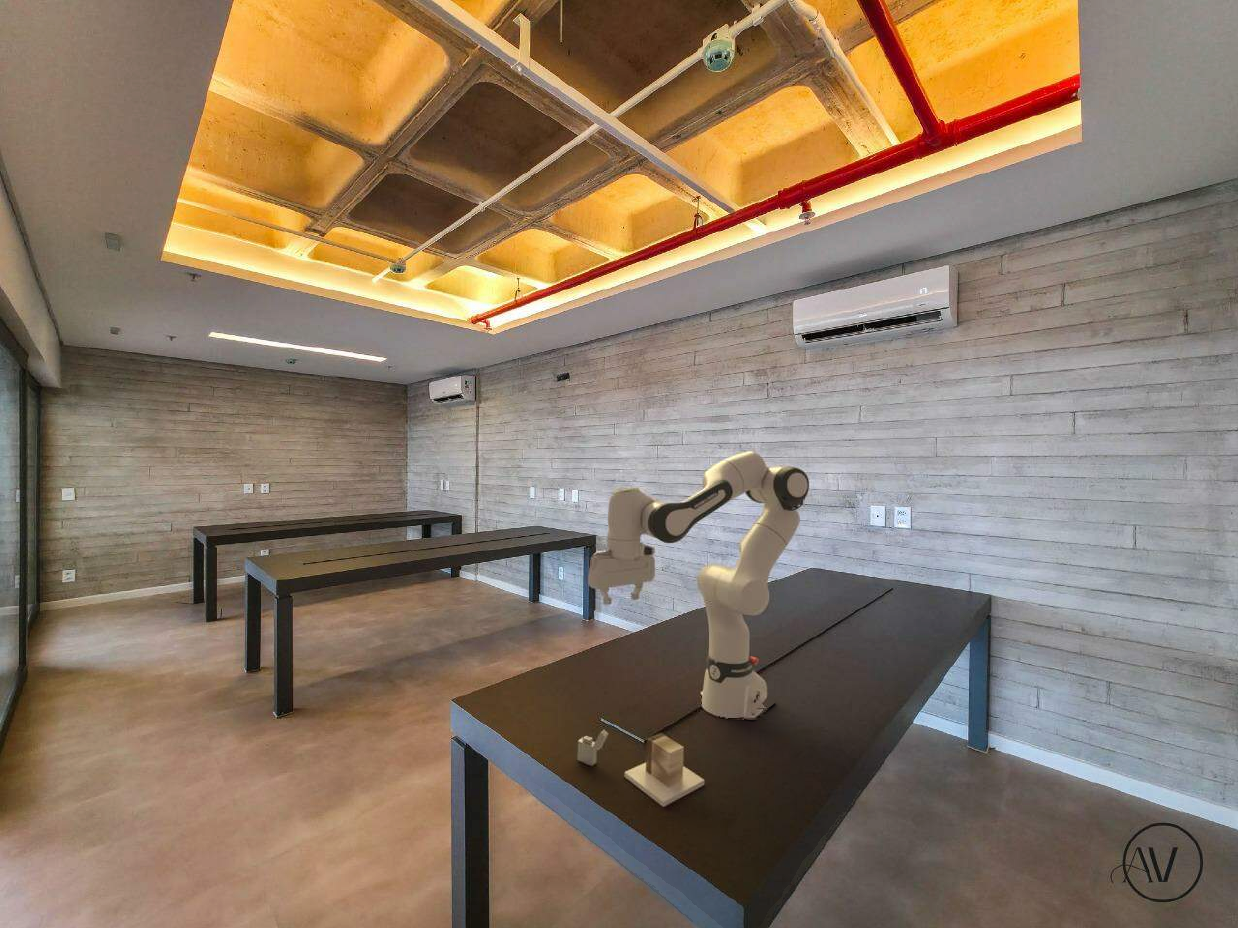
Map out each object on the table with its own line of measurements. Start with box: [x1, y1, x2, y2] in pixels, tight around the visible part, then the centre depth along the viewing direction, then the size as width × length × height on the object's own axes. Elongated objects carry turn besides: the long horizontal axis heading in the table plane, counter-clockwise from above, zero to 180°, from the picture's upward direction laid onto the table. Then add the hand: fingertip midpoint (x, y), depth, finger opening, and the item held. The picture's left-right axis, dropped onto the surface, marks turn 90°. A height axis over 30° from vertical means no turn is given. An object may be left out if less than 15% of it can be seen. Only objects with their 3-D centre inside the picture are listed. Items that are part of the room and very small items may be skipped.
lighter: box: [577, 729, 609, 767], centre depth 114 cm, size 7×2×8 cm, turn 59°
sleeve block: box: [645, 732, 685, 787], centre depth 108 cm, size 7×4×7 cm, turn 39°
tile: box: [624, 762, 705, 808], centre depth 108 cm, size 12×12×1 cm
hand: (621, 601), depth 134 cm, fingers open, 8 cm apart
